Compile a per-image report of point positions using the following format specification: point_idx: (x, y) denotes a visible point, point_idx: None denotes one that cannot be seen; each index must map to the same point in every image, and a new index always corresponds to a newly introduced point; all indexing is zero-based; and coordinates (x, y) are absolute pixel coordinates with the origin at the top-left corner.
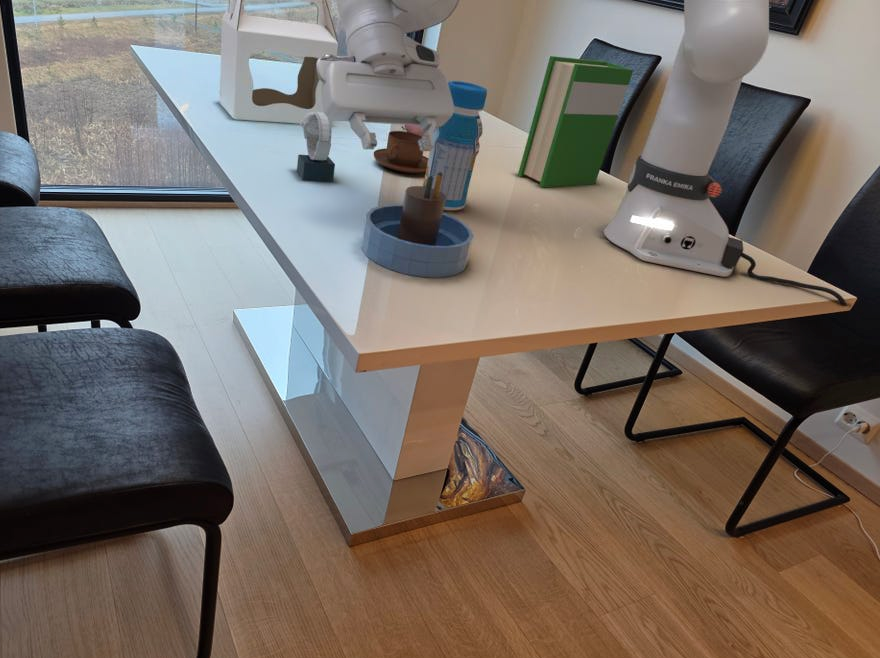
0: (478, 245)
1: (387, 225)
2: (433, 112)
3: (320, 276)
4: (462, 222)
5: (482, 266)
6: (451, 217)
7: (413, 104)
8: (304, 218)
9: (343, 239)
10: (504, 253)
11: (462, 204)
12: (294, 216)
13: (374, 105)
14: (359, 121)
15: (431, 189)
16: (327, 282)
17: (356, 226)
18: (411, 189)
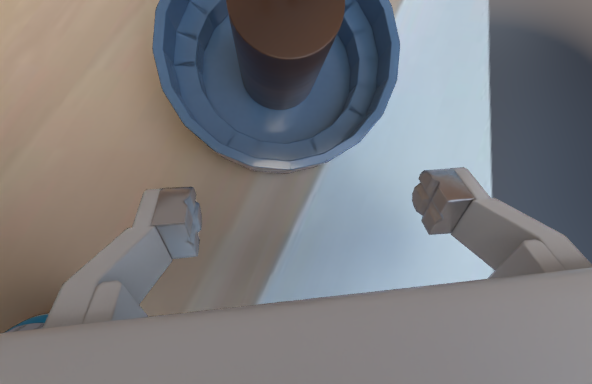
0: (97, 122)
1: (313, 136)
2: (39, 335)
3: (465, 25)
4: (155, 55)
5: (147, 26)
6: (170, 87)
7: (212, 373)
8: (420, 255)
9: (380, 161)
10: (54, 79)
11: (17, 324)
12: (435, 264)
13: (536, 299)
14: (546, 232)
15: (253, 28)
16: (461, 4)
17: (333, 220)
18: (321, 28)
